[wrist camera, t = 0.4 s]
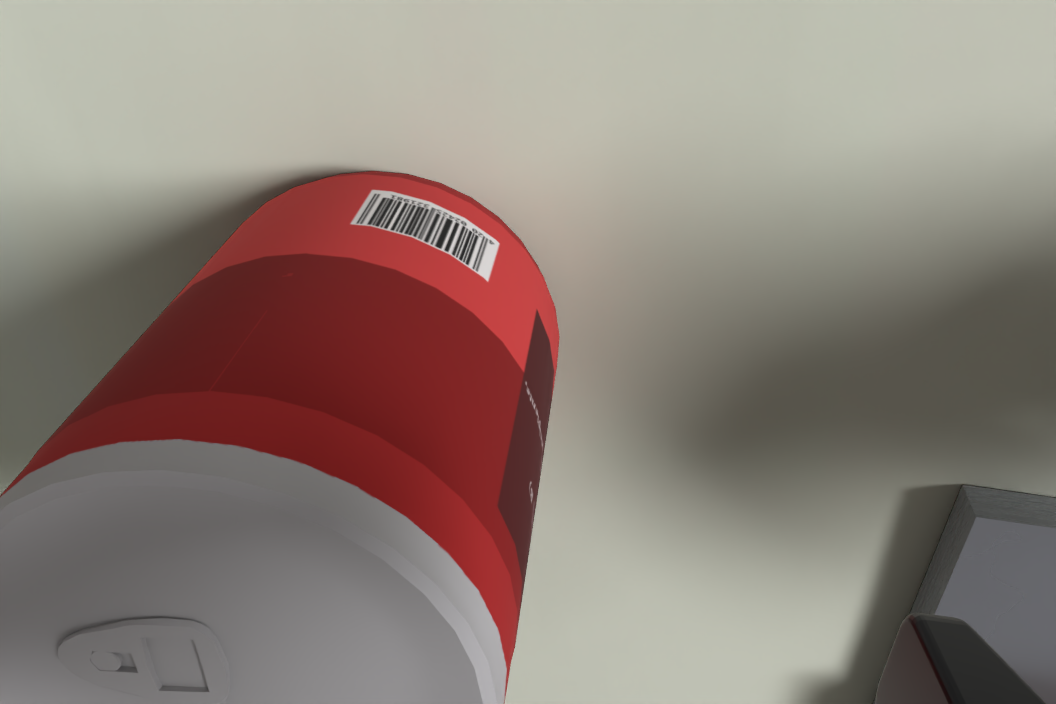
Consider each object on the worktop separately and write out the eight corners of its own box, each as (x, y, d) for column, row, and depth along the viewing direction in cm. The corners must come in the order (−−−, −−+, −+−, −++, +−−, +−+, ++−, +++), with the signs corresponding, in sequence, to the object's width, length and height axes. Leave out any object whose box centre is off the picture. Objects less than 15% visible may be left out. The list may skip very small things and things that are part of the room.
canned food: (169, 209, 23) (-175, 529, 13) (501, 113, 21) (375, 411, 11) (306, 473, 26) (112, 875, 17) (602, 413, 24) (569, 829, 15)
